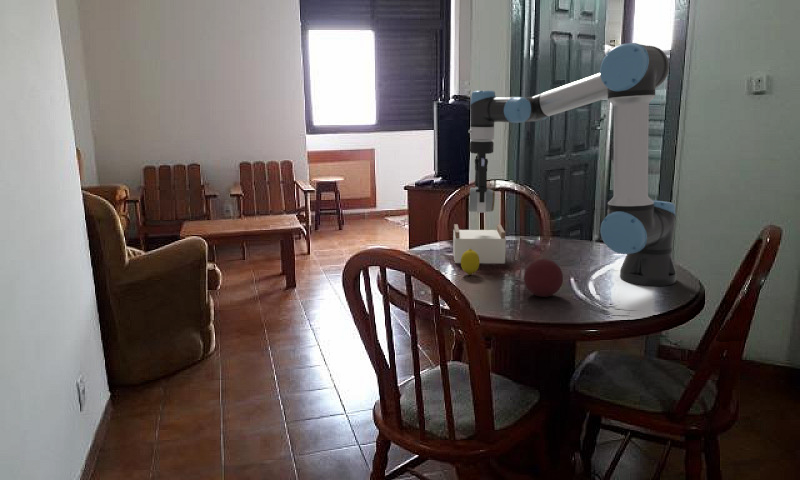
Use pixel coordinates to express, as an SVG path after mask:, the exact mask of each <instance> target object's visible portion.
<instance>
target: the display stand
mask: <svg viewBox="0 0 800 480" xmlns="http://www.w3.org/2000/svg"><path fill="white" fill-rule="evenodd" d="M452 237H453V238H452V239H453V240H452V242H453V243H452V244H453V247H452V255H453V260H454V261H455V262H454V264H461V257H462V255H463V253H464V252H465V251H467V250H469V249H472V250H473V251H475V252H476V253H477V254H478V256H479V262H480V263H479V264H506V247H507V246H506V245H507V244H506V242H507V241H506V240H507V238H506V231H505V230H504V228H503V226H502V224H497V225H496V229H460V228H459V225H458V224H457V223H456V224H455V223H454V224H453V235H452Z"/></svg>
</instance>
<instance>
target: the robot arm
mask: <svg viewBox="0 0 800 480" xmlns="http://www.w3.org/2000/svg"><path fill="white" fill-rule="evenodd" d="M599 68H600V69H599V72H598V73H595V74H592V75H590V76H587V77H584V78H582V79H579V80H576V81H572V82H570V83H566V84H564V85H562V86H559V87H556V88H553V89H550V90H547V91H544V92H541V93H539V94H535V95H533V96H528V97H527V96H500V97H499V96H498V97H497V96H496V92H495V91H494V90H474V91H472V92H471V96H470V97H471V98H470V104H469V106H470V127H469V129H468V132H467V133H468V134H469V138H470V142H469V153H470V154H476V155H475V158H474V171H475V173H474V174H475V175H474V188H478V189H476V192H477V212H476V213H477V214H479V213H485V214H486V213H487V212H486V191H487V189H488V186H487V184H488V179H487V177H488V176H487V174H488V164H489V159H488V158H486V155H487V154H493V153H494V149H495V148H494V145H495V143H494V141H493V140H494V139H495V123H497V122H498V123H512V124H519V123H525V122H535V123H537V122H541V121H544V120H546V119H547V118H548V117H552V116H554V115H557V114H560V113H563V112H566V111H567V112H568V111H570V110H573V109H576V108H580V107H583V106H586V105H590V104H593V103H596V102H599V101H602V100H605V99H607V101H609V103H611V104H612V105H613V196H612V198H611V199H610V200H609V201H608V202H607V215H606V216H605V217H604V219H603V220H602V222H601V224H600V229H599V230H600V232H599V233H600V237H601V240H602V241H603V243H604V244H605V246H607V247H608V248H609V250H611V251H613V252H614V253H617V254H621V255H625V257H624V261H623V262H622V265H621V267H620V272H619V278H620V279H622V280H623V281H625V282H628V283H631V284H635V285H641V286H649V287H651V286H652V287H662V286H663V287H665V286H671V285H673V284H675V283H676V282H677V272H676V267H675V264H674V260H673V259H674V258H673V254H672V253H673V243H674V232H675V224H676V223H675V221H676V216H677V214H676V205H675V203H673V202H669V201H663V200H656V199H655V200H654V199H652V198H651V197H649V192H648V191H649V129H650V127H649V121H650V118H649V116H650V114H649V113H650V102H651V101H652V100H653V99H654V98H655V97H656V88H658V87H659V86H661V85H662V84H663V83H664V81H665V80H666V79H667V77H668V75H669V72H670V61H669V58H668V55H667V54H666V53H665V52H664V51H663V50H662V49H661V48H659V47H657V46H652V45H646V44H645V45H644V44H640V43H637V42H629V43H621V44H618V45H615V46H614V47H613V48H612V49H610V50H609V51H608V52H607V54H605V55H604V57H603V59H602V62H601V64H600V67H599Z"/></svg>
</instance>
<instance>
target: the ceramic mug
mask: <svg viewBox="0 0 800 480" xmlns="http://www.w3.org/2000/svg"><path fill="white" fill-rule="evenodd" d="M476 189H478V188H475V187H470V188H469V201H468V212H471V213H472V212H473V213H477V192H476ZM495 197H496V192H495V190H493V189H490V188H489V189H488V188H487V191H486V213H490V212H491V213H492V212H493V211H494V210H495V202H496V201H495V200H496V199H495Z"/></svg>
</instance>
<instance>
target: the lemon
mask: <svg viewBox="0 0 800 480" xmlns="http://www.w3.org/2000/svg"><path fill="white" fill-rule="evenodd" d="M480 264H481V263H480V262H479V256H478V254H477V253H476V252H475V251H473V250H472V249H469V250H467V251H465V252H464V253H463V255H462V257H461V263H460V266H461V269H462V270H463V272H464V273H466V274H468V276H471V275H473V274H474V273H476V272H477V271H478V269H479V268H480Z"/></svg>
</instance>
